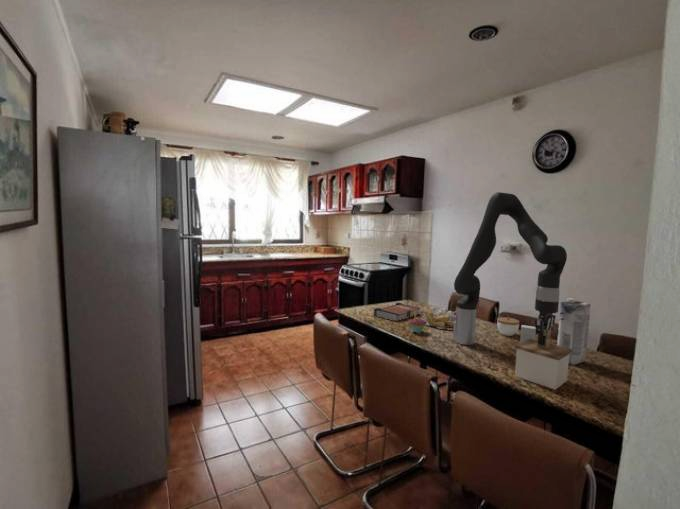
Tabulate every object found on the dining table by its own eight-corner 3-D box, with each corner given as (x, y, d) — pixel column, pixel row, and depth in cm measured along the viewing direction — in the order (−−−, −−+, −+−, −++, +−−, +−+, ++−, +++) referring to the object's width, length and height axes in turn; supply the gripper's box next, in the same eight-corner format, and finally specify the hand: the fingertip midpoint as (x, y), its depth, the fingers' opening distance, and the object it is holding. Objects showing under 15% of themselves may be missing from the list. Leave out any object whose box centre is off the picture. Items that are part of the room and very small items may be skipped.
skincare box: (534, 352, 162) (536, 326, 161) (534, 355, 158) (536, 329, 157) (519, 349, 165) (521, 324, 164) (519, 352, 161) (521, 326, 160)
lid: (515, 348, 134) (516, 327, 134) (529, 341, 143) (530, 321, 142) (558, 360, 123) (560, 337, 122) (571, 352, 131) (573, 331, 131)
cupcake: (407, 333, 185) (408, 310, 184) (410, 328, 193) (411, 307, 192) (424, 335, 182) (425, 312, 181) (426, 330, 190) (427, 308, 189)
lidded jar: (504, 337, 182) (506, 320, 181) (492, 331, 192) (493, 314, 191) (523, 337, 184) (524, 319, 183) (509, 330, 194) (510, 314, 194)
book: (397, 322, 206) (397, 314, 205) (373, 316, 218) (374, 308, 217) (420, 315, 224) (421, 307, 224) (398, 309, 236) (398, 302, 236)
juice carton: (588, 362, 151) (593, 300, 149) (574, 366, 146) (580, 302, 144) (566, 355, 159) (571, 296, 157) (553, 359, 154) (558, 298, 151)
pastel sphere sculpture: (461, 334, 187) (462, 317, 186) (418, 326, 199) (419, 310, 198) (470, 323, 208) (471, 308, 207) (431, 317, 220) (432, 302, 219)
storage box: (514, 376, 135) (516, 348, 134) (527, 368, 143) (529, 341, 142) (555, 389, 125) (557, 359, 124) (566, 380, 133) (569, 352, 132)
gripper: (543, 294, 139) (540, 337, 140) (528, 299, 129) (525, 344, 131) (565, 298, 133) (561, 342, 134) (551, 303, 124) (547, 350, 125)
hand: (543, 343), depth 133 cm, fingers open, 3 cm apart
